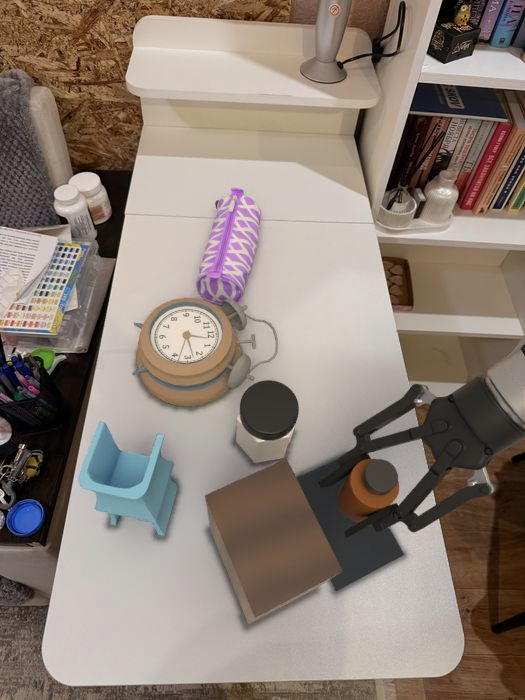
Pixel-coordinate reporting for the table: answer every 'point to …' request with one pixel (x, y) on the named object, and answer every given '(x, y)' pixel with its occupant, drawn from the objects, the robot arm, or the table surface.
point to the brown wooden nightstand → (269, 540)
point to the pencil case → (230, 248)
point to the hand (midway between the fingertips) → (337, 507)
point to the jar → (266, 420)
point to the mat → (352, 552)
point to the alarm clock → (194, 350)
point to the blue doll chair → (129, 480)
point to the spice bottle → (368, 489)
